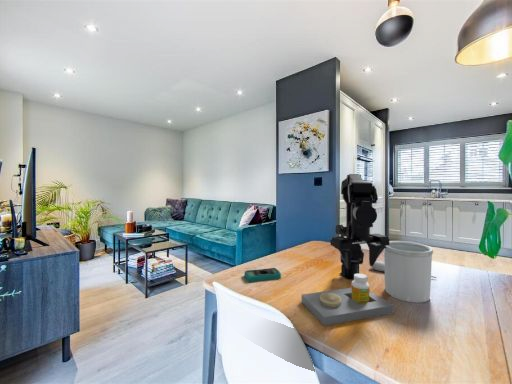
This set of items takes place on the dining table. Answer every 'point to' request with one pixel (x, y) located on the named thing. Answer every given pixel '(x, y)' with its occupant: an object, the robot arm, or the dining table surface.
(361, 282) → the supplement bottle
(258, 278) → the digital multimeter
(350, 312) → the plate
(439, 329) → the dining table surface
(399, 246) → the utensil holder
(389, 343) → the dining table surface
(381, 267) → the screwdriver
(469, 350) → the dining table surface
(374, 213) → the robot arm
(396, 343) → the dining table surface
